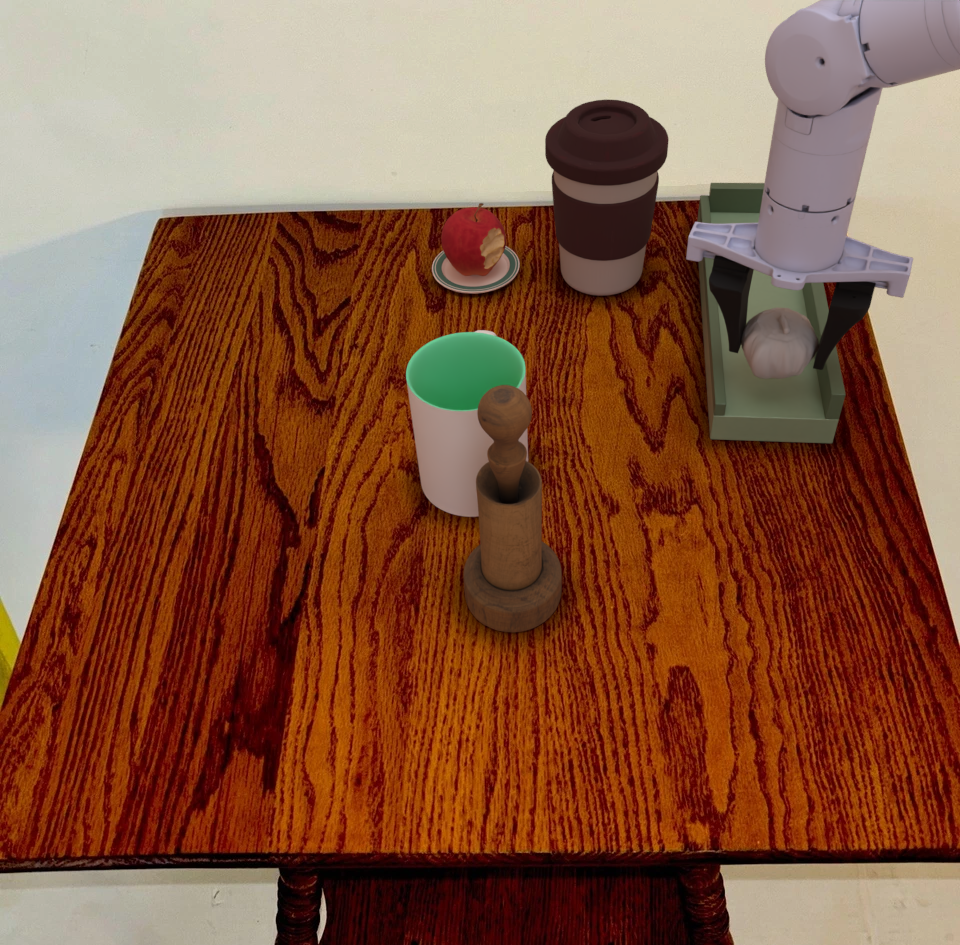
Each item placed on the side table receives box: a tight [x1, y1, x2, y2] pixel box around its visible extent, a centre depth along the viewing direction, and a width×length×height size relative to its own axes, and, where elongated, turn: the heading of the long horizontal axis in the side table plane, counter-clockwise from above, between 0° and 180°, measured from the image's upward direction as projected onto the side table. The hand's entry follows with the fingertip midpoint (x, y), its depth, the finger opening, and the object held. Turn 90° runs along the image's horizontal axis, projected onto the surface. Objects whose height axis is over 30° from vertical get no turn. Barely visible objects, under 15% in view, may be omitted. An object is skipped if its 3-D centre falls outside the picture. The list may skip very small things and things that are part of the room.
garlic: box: [741, 307, 819, 379], centre depth 75 cm, size 6×5×5 cm
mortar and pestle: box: [463, 385, 563, 633], centre depth 63 cm, size 7×6×18 cm
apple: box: [431, 202, 520, 294], centre depth 92 cm, size 8×8×6 cm
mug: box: [405, 329, 529, 518], centre depth 75 cm, size 12×8×10 cm
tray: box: [696, 182, 846, 444], centre depth 86 cm, size 28×9×5 cm, turn 174°
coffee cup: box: [544, 99, 670, 296], centre depth 88 cm, size 10×10×15 cm
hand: (777, 352), depth 76 cm, fingers closed on garlic, 5 cm apart
